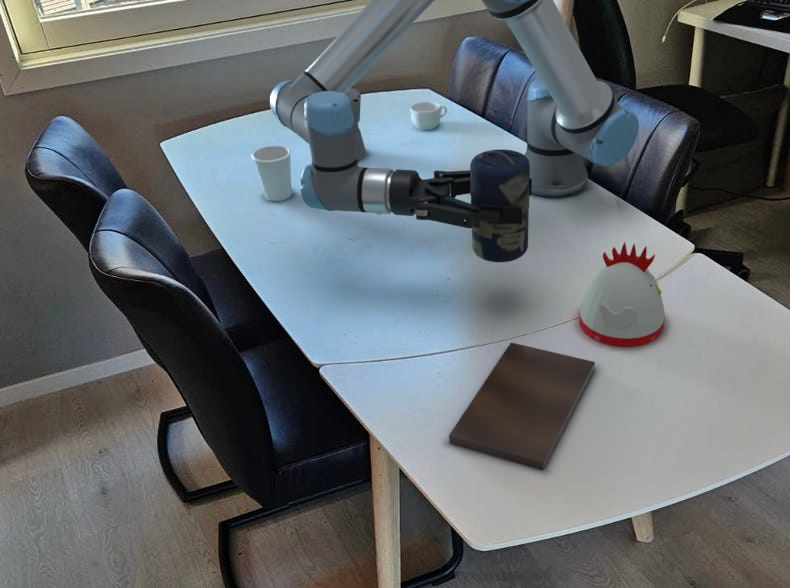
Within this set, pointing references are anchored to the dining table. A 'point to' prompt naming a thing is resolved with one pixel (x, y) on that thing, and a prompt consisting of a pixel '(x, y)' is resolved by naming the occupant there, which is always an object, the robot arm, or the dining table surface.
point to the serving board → (523, 405)
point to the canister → (500, 203)
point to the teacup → (426, 114)
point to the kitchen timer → (623, 301)
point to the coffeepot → (355, 105)
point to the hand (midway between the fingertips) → (526, 200)
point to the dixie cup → (274, 171)
